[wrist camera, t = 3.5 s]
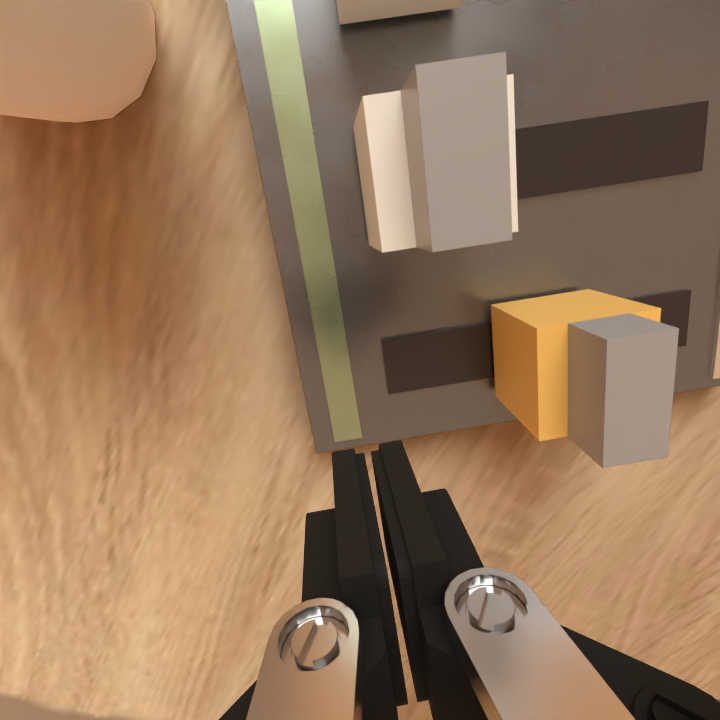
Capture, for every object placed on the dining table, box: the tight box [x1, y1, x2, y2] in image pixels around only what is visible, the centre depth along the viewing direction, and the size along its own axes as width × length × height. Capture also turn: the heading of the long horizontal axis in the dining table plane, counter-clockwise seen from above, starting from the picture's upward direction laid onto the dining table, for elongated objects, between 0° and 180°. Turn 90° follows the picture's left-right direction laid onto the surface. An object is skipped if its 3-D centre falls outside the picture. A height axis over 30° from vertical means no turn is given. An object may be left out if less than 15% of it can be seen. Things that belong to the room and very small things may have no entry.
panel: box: [226, 0, 720, 453], centre depth 17 cm, size 20×21×2 cm
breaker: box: [353, 52, 518, 253], centre depth 13 cm, size 4×4×6 cm
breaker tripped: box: [491, 289, 679, 468], centre depth 15 cm, size 4×4×6 cm
